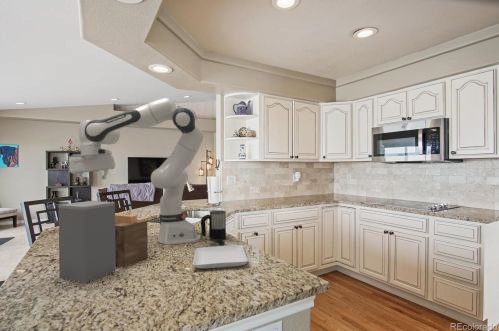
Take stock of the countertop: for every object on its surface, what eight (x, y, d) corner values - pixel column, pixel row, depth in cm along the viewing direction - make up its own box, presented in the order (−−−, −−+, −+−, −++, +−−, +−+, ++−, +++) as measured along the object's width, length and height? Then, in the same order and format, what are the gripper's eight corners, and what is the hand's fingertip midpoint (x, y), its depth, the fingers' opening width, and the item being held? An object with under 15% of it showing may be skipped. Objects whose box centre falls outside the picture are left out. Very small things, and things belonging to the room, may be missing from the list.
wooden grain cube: (100, 262, 111) (99, 223, 111) (124, 253, 122) (124, 218, 122) (124, 267, 105) (124, 226, 105) (147, 257, 116) (147, 220, 116)
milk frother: (220, 235, 150) (219, 209, 150) (238, 241, 139) (237, 212, 139) (198, 241, 141) (197, 212, 141) (215, 247, 129) (215, 216, 129)
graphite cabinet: (59, 277, 96) (58, 205, 96) (91, 265, 107) (90, 200, 107) (85, 283, 91) (84, 207, 91) (115, 270, 101) (114, 202, 101)
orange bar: (95, 220, 119) (95, 213, 119) (101, 218, 122) (101, 212, 122) (131, 223, 110) (130, 216, 110) (136, 222, 112) (136, 215, 112)
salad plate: (192, 273, 99) (192, 264, 99) (195, 254, 120) (195, 247, 120) (248, 269, 102) (248, 260, 102) (242, 251, 123) (242, 244, 123)
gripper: (65, 154, 128) (67, 182, 128) (110, 149, 132) (113, 177, 131) (71, 155, 135) (74, 183, 134) (114, 151, 138) (117, 177, 138)
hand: (94, 180), depth 133 cm, fingers open, 8 cm apart
